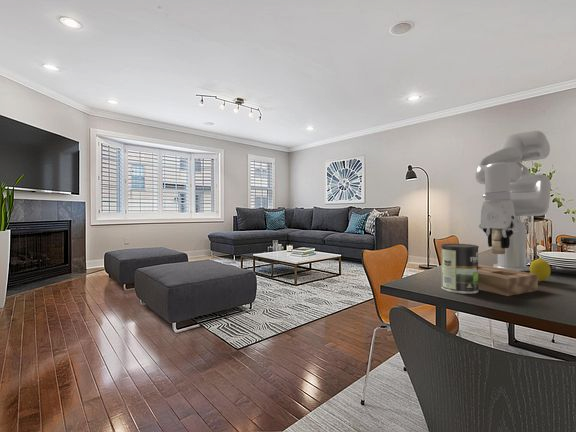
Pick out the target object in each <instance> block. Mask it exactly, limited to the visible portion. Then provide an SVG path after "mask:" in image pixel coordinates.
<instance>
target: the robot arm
mask: <svg viewBox="0 0 576 432" xmlns="http://www.w3.org/2000/svg"><path fill="white" fill-rule="evenodd" d="M550 146H551V145H550V142H549V140H548V139H547V136H546V134H544V132H542V131H540V130H532V131H525V132H518V133H514V134H509V135H508V136H506V137H505V138H503V140H502V142H501V145H500V146H499V149H498V150H497V151H494V152H493V153H491V154H489V155H486V156H485V157H483V158H482V159H481V160H480V161H479V163H478V166H477V167H476V170H475V179H476V182H477V183H479V184H480V185H484V190H485V191H484V192H485V193H484V194H482V198H483V199H484V201H483V202H482V205H481V210H480V211H481V212H480V224H479V225H478V228H479V229H480V230H481V231H483V232H484V233H485V235H486V237H487V245H488V247H489V248H492V228H493V229H501V230H502V234H503V237H502V238H501V248H503V249H504V248H505V254H497V263H493V265H492V267H496V268H502V269H508V270H514V271H520V272H530V266H529V265H527V264H531V263H532V259H531V258H529V257H528V258H527V245H526V244H527V240H526V239H527V238H526V237H527V228H526V225H525V223H524V222H523V221H522V220H521V219H520V218H519V217H538V216H539V217H541V216H544V215H546V214H547V213H548V211H549V208H550V198H551V190H552V189H551V188H552V187H551V186H552V185H551V179H550V177H549V176H547V175H546V174H540V173H537V174H531V171H530V170H529V168H528V167H527V166H525V165H524V164H523V163H521V162H529V161H530V162H531V161H538V160H539V161H540V160H545V159H546V158H547V157H549V155H550V152H551V148H550ZM531 154H532V155H531Z"/></svg>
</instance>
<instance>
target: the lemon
mask: <svg viewBox="0 0 576 432" xmlns="http://www.w3.org/2000/svg"><path fill="white" fill-rule="evenodd" d="M529 267H530V271H529V273H532V274H538V282H542V281H544V280H547V279H548V278H549V277H550V275H551V273H552V272H551V271H552V270H551V266H550V264H549V262H548V261H547V260H545V259H542V258H541V257H538V258H537V259H534V260H532V261H531V263H530V266H529Z"/></svg>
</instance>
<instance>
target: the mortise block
mask: <svg viewBox="0 0 576 432" xmlns="http://www.w3.org/2000/svg"><path fill="white" fill-rule="evenodd" d="M538 282H539V281H538V274H532V273H530V272H527V271H514V270H508V269H502V268H496V267H493V266H489V265H483V264H478V290H480V291H485V292H490V293H493V294H498V295H502V296H506V297H509V296H510V297H511V296H515V295H521V294H526V293H533V292H537V291H538V289H539V288H538V287H539V286H538V285H539V284H538Z"/></svg>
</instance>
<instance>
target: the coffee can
mask: <svg viewBox="0 0 576 432" xmlns="http://www.w3.org/2000/svg"><path fill="white" fill-rule="evenodd" d="M440 247H441V248H440V249H441V252H440V253H441V289H442V291H445V292H450V293H452V294H453V293H454V294H463V295H465V294H466V295H472V294H473V295H474V294H478V293H479V290H480V289H478V265H479V247H480V246H479V245H476V244H467V243H441V244H440Z"/></svg>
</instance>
